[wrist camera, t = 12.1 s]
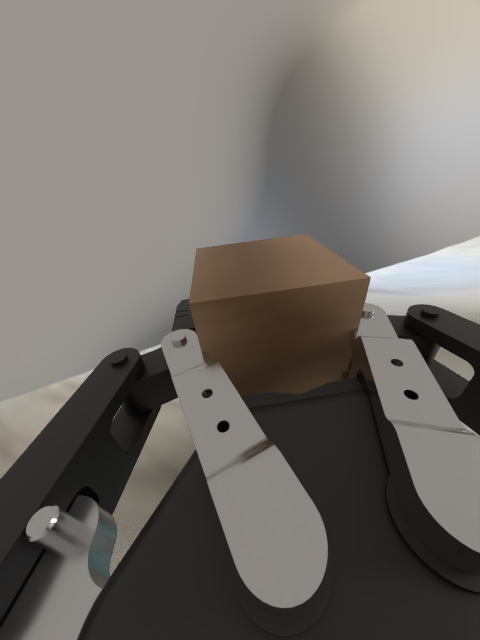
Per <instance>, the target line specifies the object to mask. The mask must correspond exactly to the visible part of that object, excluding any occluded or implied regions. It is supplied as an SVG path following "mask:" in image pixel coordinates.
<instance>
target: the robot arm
mask: <svg viewBox="0 0 480 640" xmlns="http://www.w3.org/2000/svg"><path fill="white" fill-rule="evenodd" d="M189 300H190V299H187V300H182V301H181V302H180V303H179V305H178V306H177V309H176V314H175V319H174V323H173V328H172V332H171V333H169V334H168V335H166V336H165V337H164V338H163V340H162V342H161V347H160V348H158V349H157V350H154V351H152V352H149V353H146V354H143V355H140V353H139V351H138V350H136V349H134V348H124V349H120V350H117V351H115V352H113V353H111V354H110V355H108V356H106V357H105V358H104V359H103V360H102V361H101V362H100V364H99V365H98V366H97V367H96V368H95V369H94V371H93V372H92V373H91V374H90V375H89V376H88V378H87V379H86V380H85V381H84V382H83V384H82V385H81V386H80V387H79V388H78V389H77V391H76V392H75V393H74V394H73V395H72V396H71V398H70V399H69V400H68V401H67V402H66V403H65V405H64V406H63V407H62V408H61V409H60V410H59V412H58V413H57V414H56V415H55V416H54V417H53V419H52V420H51V421H50V422H49V423H48V424H47V426H46V427H45V428H44V429H43V430H42V431H41V433H40V434H39V435H38V436H37V437H36V439H35V440H34V441H33V442H32V443H31V444H30V446H29V447H28V448H27V449H26V450H25V451H24V453H23V454H22V455H21V456H20V457H19V458H18V460H17V461H16V462H15V463H14V464H13V465H12V467H11V468H10V469H9V470H8V471H7V472H6V474H5V475H4V476H3V477H2V478H1V479H0V640H480V437H478V436H477V435H475V434H474V433H472V432H470V431H468V430H466V429H465V428H464V427H463V425H462V424H461V423H460V421H461V422H463V423H464V424H465V425H467V426H468V427H469V428H471V429H472V430H473V431H475V432H476V433H477V434H478V435H480V325H479V324H476V323H474V322H472V321H469V320H467V319H465V318H463V317H460V316H458V315H456V314H453V313H451V312H449V311H446V310H444V309H442V308H439V307H436V306H431V305H422V304H420V305H413V306H411V307H409V309H408V311H407V314H406V316H393V315H386V313H385V311H384V310H383V309H382V308H380V307H378V306H376V305H373V304H369V303H364V307H363V312H362V316H361V320H360V324H359V328H355V329H352V331H351V336H350V344H351V348H352V358H351V362H350V366H349V371H346V372H343V373H342V377H341V380H340V381H334V382H328V383H326V384H323V385H321V386H319V387H316V388H314V389H312V390H309V391H307V392H305V393H302V394H290V393H271V392H267V393H260V394H254V395H248V396H242V397H240V395H239V393H238V392H237V390H236V389H235V387H234V385H233V384H232V382H231V381H230V379H229V378H228V376H227V374H226V373H225V371H224V370H223V368H222V367H221V365H220V363H219V362H218V360H217V359H216V358H214V359H211V357H210V356H209V354H208V352H207V351H205V352H201V348H200V344H199V341H198V337H197V333H196V329H195V325H194V321H193V317H192V313H191V310H190V306H189ZM440 346H441V347H443V348H444V349H446V350H448V351H450V352H452V353H453V354H455V355H457V356H459V357H460V358H462V359H464V360H466V361H467V362H469V363H470V364H471V365H472V367H473V369H474V376H473V378H472V379H471V380H470V382H469V381H468V380H466V379H465V378H463V377H461V376H460V375H458V374H456V373H455V372H453V371H452V370H450V369H448V368H447V367H445V366H444V365H442V364H440V363H439V362H437V361H436V360H434V358H435V356H436V354H437V352H438V350H439V348H440ZM176 398H179V401H180V404H181V407H182V410H183V412H184V415H185V418H186V421H187V424H188V427H189V430H190V433H191V436H192V439H193V442H194V444H195V447H196V450H195V451H194V453H193V454H192V456H191V457H190V459H189V460H188V462H187V463H186V465H185V466H184V468H183V469H182V471H181V472H180V474H179V475H178V477H177V478H176V480H175V481H174V483H173V484H172V486H171V487H170V489H169V490H168V492H167V493H166V495H165V496H164V498H163V499H162V501H161V502H160V504H159V505H158V507H157V508H156V510H155V511H154V513H153V514H152V516H151V517H150V518H149V520H148V521H147V523H146V524H145V526H144V527H143V529H142V530H141V532H140V533H139V535H138V536H137V538H136V539H135V541H134V542H133V544H132V545H131V547H130V548H129V550H128V551H127V553H126V554H125V556H124V557H123V559H122V560H121V562H120V563H119V565H118V566H117V568H116V569H115V571H114V572H113V574H112V575H111V577H110V573H109V567H110V559H111V556H112V552H113V548H114V545H115V541H116V536H117V526H116V522H115V519H114V518H113V516H112V514H113V512H114V510H115V508H116V506H117V503H118V501H119V499H120V497H121V495H122V492H123V490H124V488H125V486H126V484H127V481H128V479H129V477H130V475H131V472H132V470H133V468H134V466H135V464H136V461H137V459H138V457H139V455H140V453H141V450H142V448H143V446H144V444H145V442H146V439H147V437H148V435H149V433H150V431H151V428H152V426H153V424H154V422H155V420H156V417H157V415H158V413H159V411H160V408H161V405H162V404H165V403H167V402H169V401H171V400H174V399H176ZM121 405H122V406H121ZM120 407H121V408H120ZM119 408H120V410H119ZM118 410H119V411H118ZM117 411H118V413H117ZM116 413H117V415H116ZM115 415H116V416H115ZM114 416H115V418H114ZM113 418H114V419H113ZM112 420H113V421H112ZM459 420H460V421H459Z"/></svg>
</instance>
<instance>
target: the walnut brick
mask: <svg viewBox="0 0 480 640" xmlns="http://www.w3.org/2000/svg"><path fill="white" fill-rule="evenodd" d="M370 278H371V277H369V276H368V275H366V274H365V273H363V272H362V271H360V270H359V269H357V268H356V267H354V266H353V265H351V264H350V263H348V262H347V261H345V260H344V259H342V258H341V257H339V256H338V255H336V254H335V253H333V252H332V251H330V250H329V249H327V248H326V247H324V246H323V245H321V244H320V243H319V242H317V241H316V240H314V239H313V238H311V237H310V236H308V235H307V234H304V235H296V236H288V237H281V238H273V239H266V240H258V241H251V242H244V243H237V244H229V245H221V246H213V247H206V248H198V249H196V256H195V264H194V271H193V278H192V286H191V292H190V300H189V306H190V310H191V313H192V317H193V321H194V325H195V329H196V333H197V337H198V341H199V344H200V348H201V352H205V351H207V352H208V354H209V356H210V357H211V359H214V358H216V359H217V360H218V362H219V363H220V365H221V367H222V368H223V370H224V371H225V373H226V374H227V376H228V378H229V379H230V381H231V382H232V384H233V385H234V387H235V389H236V390H237V392H238V393H239V395H240V397H242V396H248V395H254V394H260V393H267V392H271V393H290V394H302V393H305V392H307V391H309V390H312V389H314V388H316V387H319V386H321V385H323V384H326V383H328V382H334V381H340V380H341V377H342V373H343V372H346V371H349V366H350V362H351V358H352V348H351V344H350V336H351V331H352V329H355V328H359V324H360V320H361V316H362V312H363V307H364V303H365V299H366V295H367V291H368V286H369V282H370Z"/></svg>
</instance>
